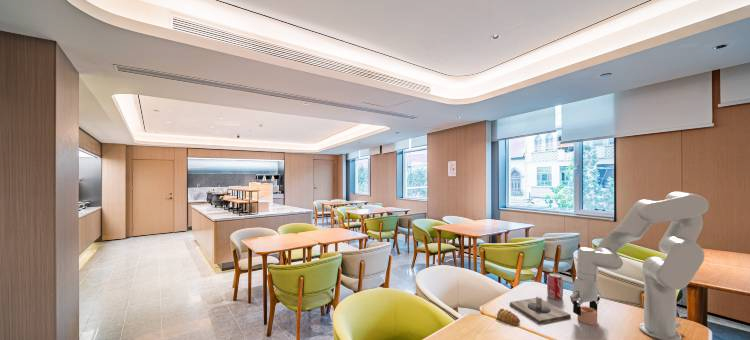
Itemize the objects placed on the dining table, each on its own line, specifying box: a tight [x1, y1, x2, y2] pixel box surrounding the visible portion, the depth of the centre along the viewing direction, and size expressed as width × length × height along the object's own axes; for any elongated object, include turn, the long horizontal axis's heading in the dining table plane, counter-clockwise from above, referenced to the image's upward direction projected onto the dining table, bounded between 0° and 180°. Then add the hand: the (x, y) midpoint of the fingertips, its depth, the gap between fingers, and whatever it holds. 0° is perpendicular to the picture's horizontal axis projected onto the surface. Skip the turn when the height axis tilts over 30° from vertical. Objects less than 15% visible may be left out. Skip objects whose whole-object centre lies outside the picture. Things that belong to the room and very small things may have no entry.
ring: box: [577, 305, 598, 326], centre depth 130 cm, size 7×7×5 cm
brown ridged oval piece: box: [496, 308, 521, 326], centre depth 131 cm, size 9×7×4 cm
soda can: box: [546, 272, 564, 300], centre depth 153 cm, size 7×7×12 cm
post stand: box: [509, 296, 572, 325], centre depth 139 cm, size 18×18×6 cm
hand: (585, 312), depth 130 cm, fingers open, 9 cm apart
